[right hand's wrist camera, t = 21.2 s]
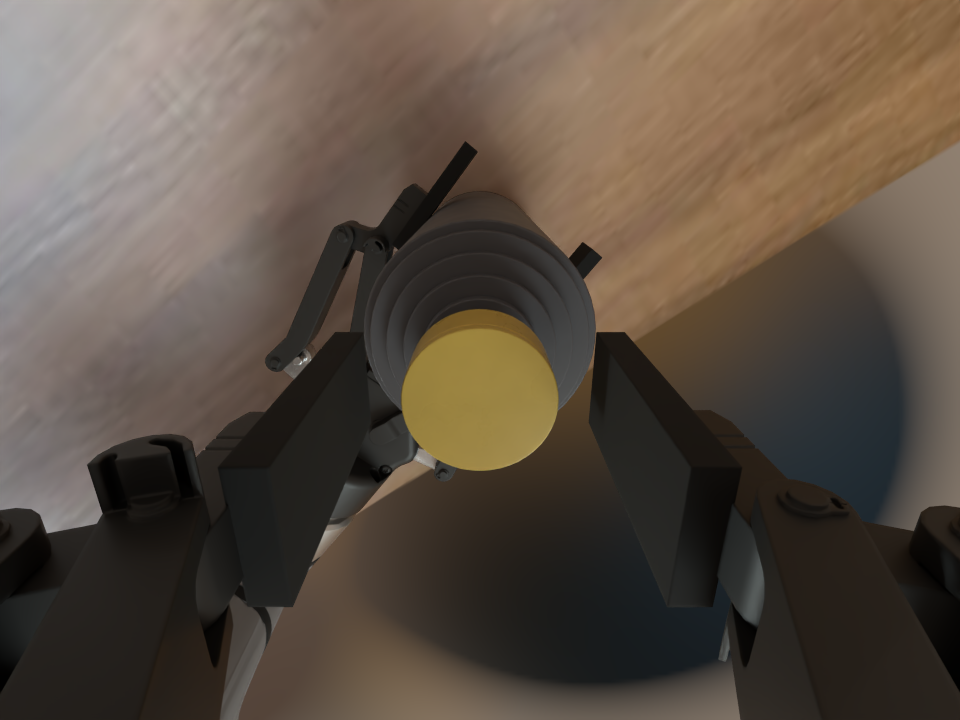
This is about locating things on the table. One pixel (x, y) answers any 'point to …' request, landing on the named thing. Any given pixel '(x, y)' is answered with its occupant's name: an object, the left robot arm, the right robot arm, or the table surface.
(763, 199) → the table surface
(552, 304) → the bottle
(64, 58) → the table surface
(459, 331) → the cap
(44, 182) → the table surface
